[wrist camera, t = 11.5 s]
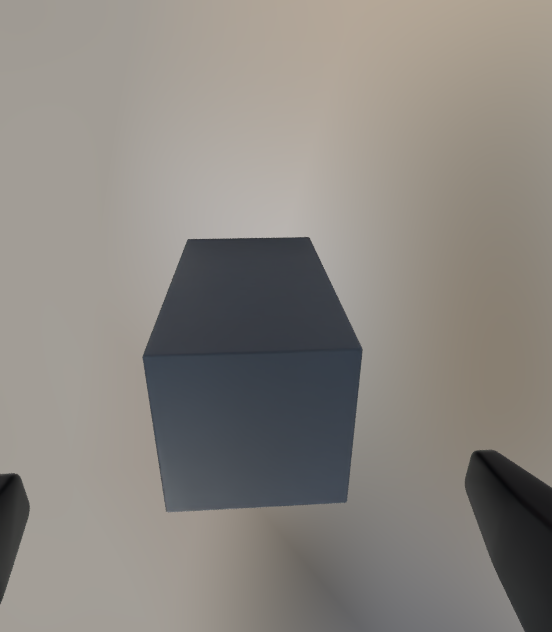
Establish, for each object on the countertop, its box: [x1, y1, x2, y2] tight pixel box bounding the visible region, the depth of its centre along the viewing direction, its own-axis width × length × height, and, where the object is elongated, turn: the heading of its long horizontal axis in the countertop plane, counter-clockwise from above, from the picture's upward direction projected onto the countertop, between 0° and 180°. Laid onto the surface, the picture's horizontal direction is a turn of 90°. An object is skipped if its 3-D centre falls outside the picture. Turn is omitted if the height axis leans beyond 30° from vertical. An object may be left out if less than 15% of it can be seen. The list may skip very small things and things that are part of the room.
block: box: [143, 237, 362, 512], centre depth 13 cm, size 4×4×8 cm
